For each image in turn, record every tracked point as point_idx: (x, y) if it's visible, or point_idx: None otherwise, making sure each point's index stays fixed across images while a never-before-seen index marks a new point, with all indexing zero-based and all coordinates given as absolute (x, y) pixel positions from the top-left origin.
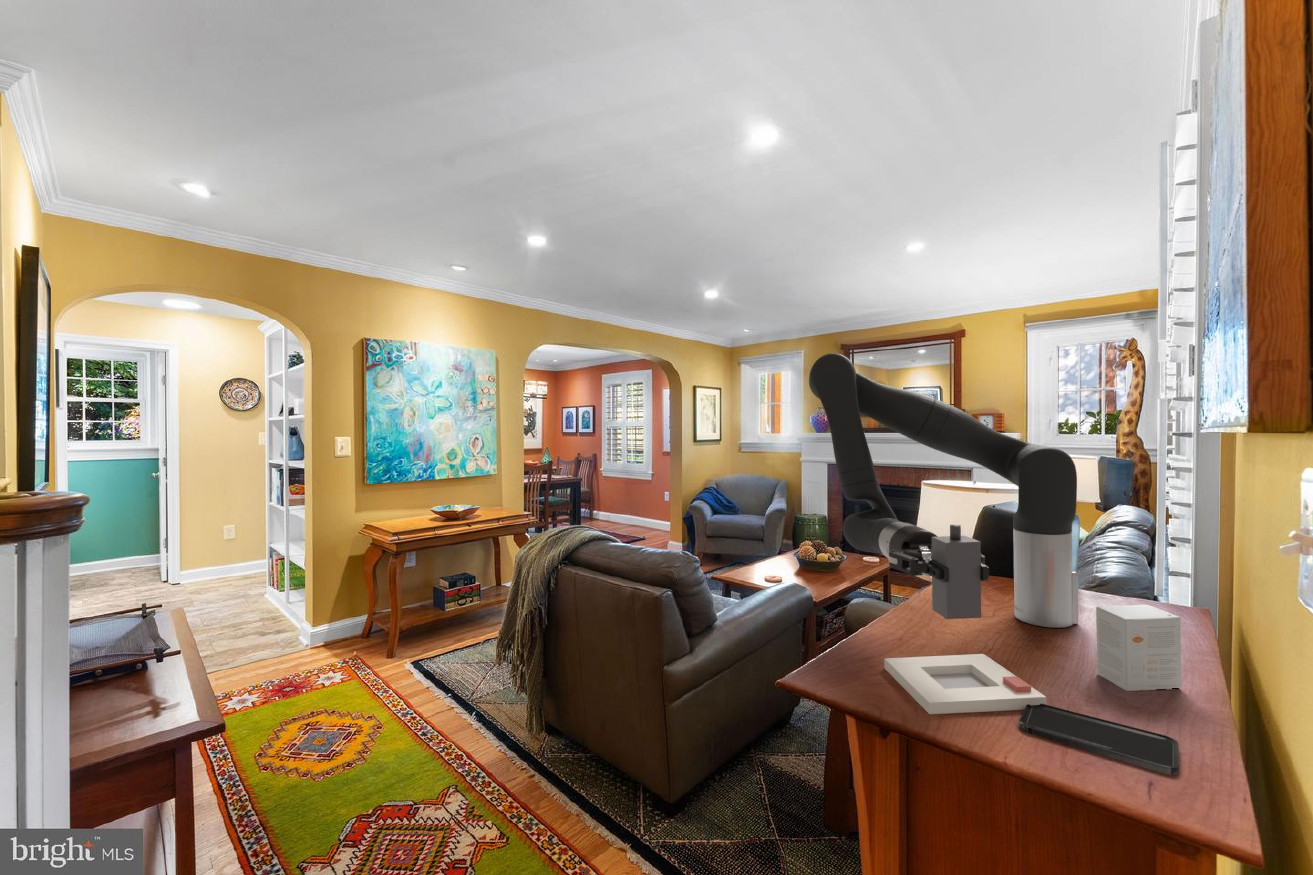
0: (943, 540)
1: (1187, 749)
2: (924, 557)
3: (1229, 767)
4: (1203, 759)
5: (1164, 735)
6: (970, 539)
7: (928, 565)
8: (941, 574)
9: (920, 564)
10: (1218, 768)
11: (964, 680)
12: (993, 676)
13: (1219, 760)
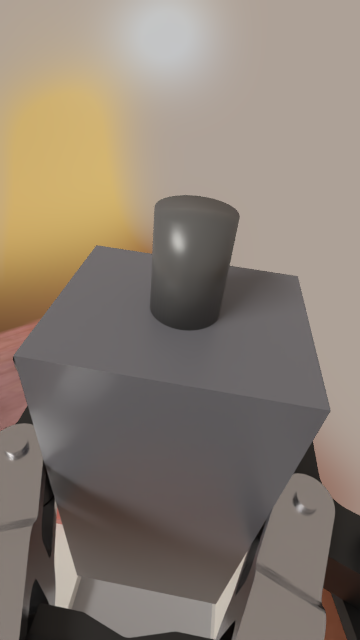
0: (284, 309)
1: (12, 353)
2: (313, 556)
3: (18, 328)
4: (23, 340)
5: (14, 361)
6: (99, 280)
7: (315, 461)
8: None
9: (349, 513)
10: (30, 330)
11: (113, 618)
12: (68, 562)
13: (10, 336)
